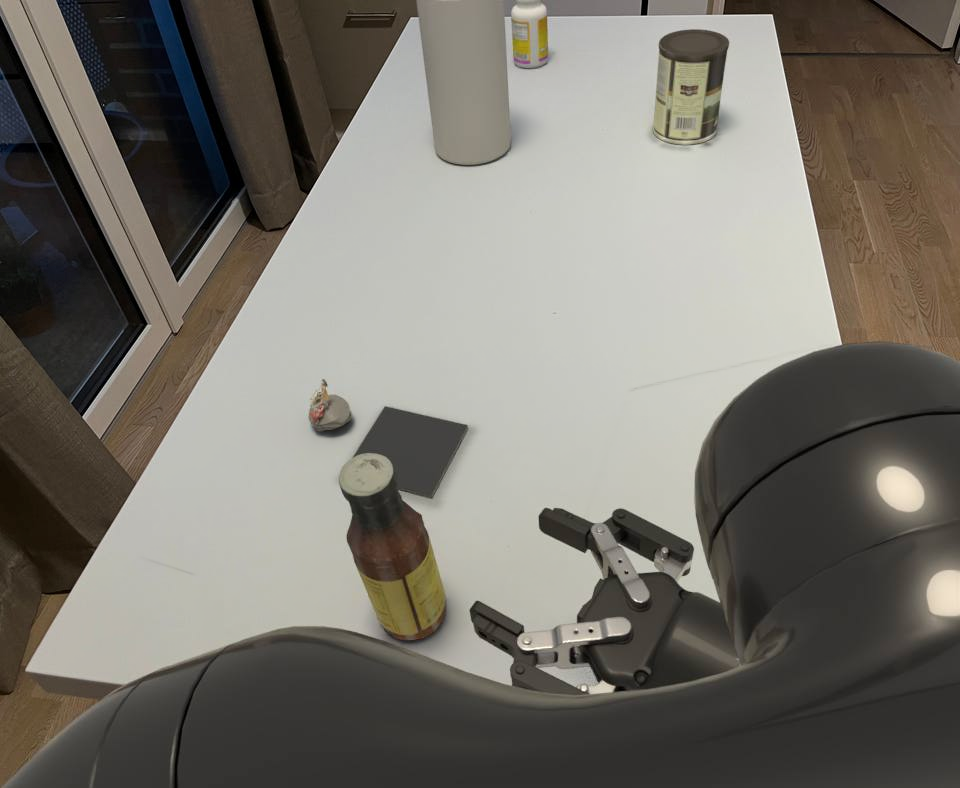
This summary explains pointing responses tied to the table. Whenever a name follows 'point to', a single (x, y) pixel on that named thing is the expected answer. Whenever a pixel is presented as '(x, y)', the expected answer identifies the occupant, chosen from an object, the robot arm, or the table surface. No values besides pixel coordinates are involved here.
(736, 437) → the robot arm
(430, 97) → the cylinder vase
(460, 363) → the table surface
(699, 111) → the coffee can
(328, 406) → the figurine
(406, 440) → the slate coaster
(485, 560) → the table surface
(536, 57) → the supplement bottle
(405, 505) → the sauce bottle
